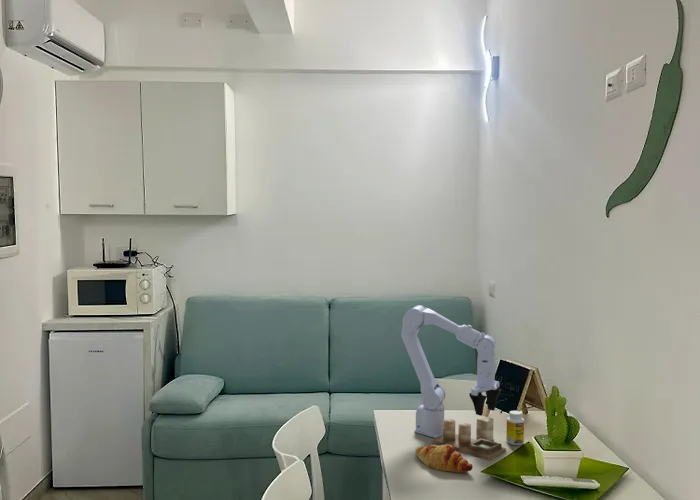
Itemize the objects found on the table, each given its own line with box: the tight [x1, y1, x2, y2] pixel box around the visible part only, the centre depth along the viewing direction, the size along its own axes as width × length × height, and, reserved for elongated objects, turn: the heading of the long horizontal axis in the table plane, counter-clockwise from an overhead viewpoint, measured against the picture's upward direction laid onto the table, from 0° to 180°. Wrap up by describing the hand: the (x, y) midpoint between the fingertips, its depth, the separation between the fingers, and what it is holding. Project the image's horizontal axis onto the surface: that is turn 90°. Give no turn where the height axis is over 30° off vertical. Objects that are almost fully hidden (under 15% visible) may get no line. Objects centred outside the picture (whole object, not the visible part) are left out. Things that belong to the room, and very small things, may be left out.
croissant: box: [415, 444, 474, 474], centre depth 196 cm, size 21×10×8 cm, turn 45°
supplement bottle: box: [505, 410, 525, 446], centre depth 215 cm, size 6×6×10 cm
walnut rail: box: [431, 418, 507, 461], centre depth 211 cm, size 22×10×7 cm, turn 47°
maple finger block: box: [475, 415, 494, 441], centre depth 219 cm, size 4×4×7 cm
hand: (485, 412), depth 218 cm, fingers open, 7 cm apart
